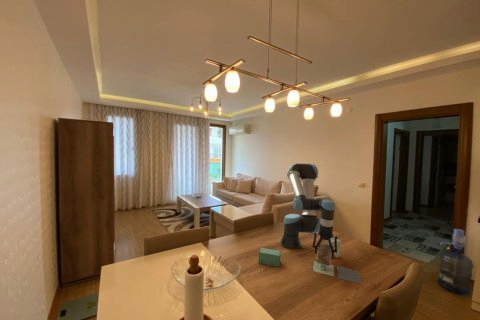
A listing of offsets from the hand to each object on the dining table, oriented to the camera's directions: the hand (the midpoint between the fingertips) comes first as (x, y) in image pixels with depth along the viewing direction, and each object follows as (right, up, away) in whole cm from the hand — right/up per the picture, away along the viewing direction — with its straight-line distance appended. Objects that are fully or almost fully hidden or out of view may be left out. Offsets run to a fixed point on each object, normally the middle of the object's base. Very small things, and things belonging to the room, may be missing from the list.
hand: (323, 260), depth 133 cm
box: (-34, -3, +4) cm, 34 cm away
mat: (+12, -6, -7) cm, 15 cm away
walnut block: (0, -1, 0) cm, 1 cm away
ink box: (+13, -5, +16) cm, 21 cm away
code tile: (0, -5, -1) cm, 5 cm away
